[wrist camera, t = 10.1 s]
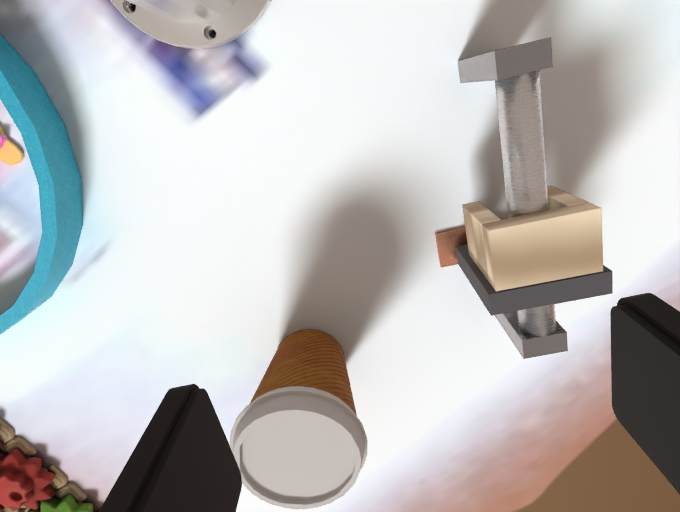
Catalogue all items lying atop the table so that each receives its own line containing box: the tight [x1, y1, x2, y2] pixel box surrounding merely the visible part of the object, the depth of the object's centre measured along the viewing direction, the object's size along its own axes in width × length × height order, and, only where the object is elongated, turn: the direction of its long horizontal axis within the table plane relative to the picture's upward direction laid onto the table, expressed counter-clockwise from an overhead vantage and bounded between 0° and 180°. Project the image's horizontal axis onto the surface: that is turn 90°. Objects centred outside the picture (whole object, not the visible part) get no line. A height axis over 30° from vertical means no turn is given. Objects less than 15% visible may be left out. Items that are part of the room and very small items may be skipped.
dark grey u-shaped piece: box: [456, 244, 612, 316], centre depth 31 cm, size 2×7×9 cm, turn 103°
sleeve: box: [462, 186, 603, 291], centre depth 29 cm, size 4×6×7 cm, turn 103°
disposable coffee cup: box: [230, 330, 367, 509], centre depth 35 cm, size 10×10×12 cm
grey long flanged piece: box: [435, 37, 568, 359], centre depth 31 cm, size 20×10×8 cm, turn 13°
